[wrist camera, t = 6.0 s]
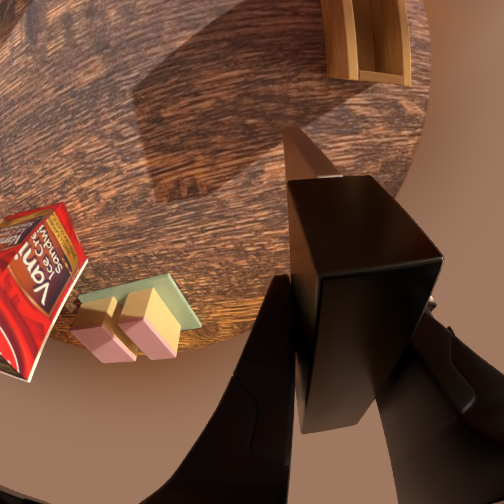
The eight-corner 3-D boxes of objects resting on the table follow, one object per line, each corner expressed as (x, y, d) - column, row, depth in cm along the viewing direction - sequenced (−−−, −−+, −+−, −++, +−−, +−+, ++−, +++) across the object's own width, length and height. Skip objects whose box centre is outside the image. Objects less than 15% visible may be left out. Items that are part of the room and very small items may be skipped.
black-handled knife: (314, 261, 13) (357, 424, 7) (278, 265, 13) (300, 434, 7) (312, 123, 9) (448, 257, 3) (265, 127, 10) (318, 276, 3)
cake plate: (201, 324, 28) (201, 327, 28) (115, 336, 30) (114, 339, 30) (169, 272, 24) (168, 276, 24) (79, 294, 26) (77, 298, 25)
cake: (143, 331, 29) (135, 361, 25) (111, 336, 29) (102, 363, 26) (113, 295, 25) (101, 326, 22) (81, 303, 26) (68, 331, 23)
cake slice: (181, 326, 28) (176, 357, 25) (157, 329, 28) (150, 360, 25) (153, 286, 24) (143, 320, 21) (128, 292, 25) (116, 324, 22)
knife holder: (381, 81, 15) (411, 87, 11) (326, 77, 15) (348, 79, 11) (370, -26, 9) (397, -41, 6) (314, -35, 9) (331, -56, 6)
